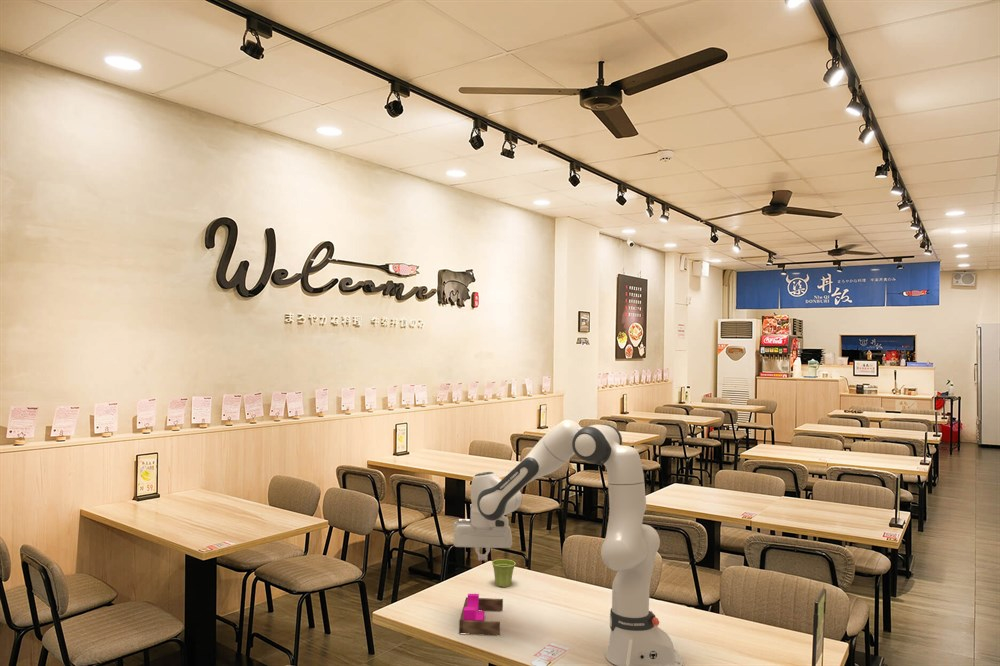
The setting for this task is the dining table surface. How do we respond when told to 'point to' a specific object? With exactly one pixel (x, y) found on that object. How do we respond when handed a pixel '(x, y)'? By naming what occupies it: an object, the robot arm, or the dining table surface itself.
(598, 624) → the dining table surface
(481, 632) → the walnut bay
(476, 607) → the toy block
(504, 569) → the plant pot
